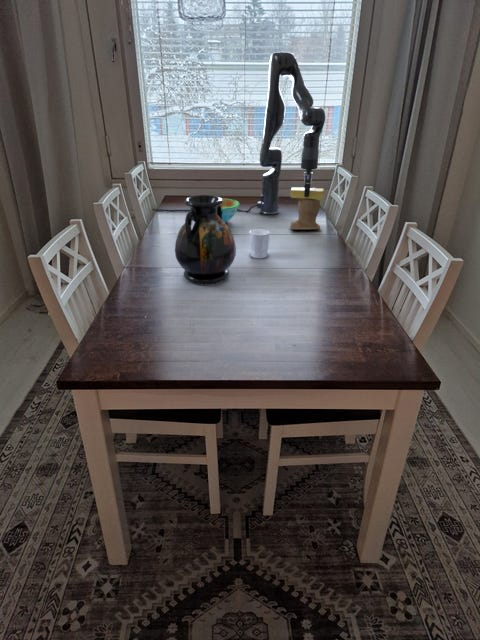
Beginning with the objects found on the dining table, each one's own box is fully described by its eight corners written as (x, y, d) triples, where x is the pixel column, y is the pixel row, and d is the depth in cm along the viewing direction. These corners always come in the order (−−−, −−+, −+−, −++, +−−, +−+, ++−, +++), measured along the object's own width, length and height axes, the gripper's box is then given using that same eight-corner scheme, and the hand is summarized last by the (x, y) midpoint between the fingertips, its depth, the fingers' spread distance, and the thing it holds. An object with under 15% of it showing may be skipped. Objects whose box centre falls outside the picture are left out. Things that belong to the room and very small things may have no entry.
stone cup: (316, 225, 207) (319, 194, 199) (321, 232, 196) (325, 200, 189) (287, 225, 206) (288, 194, 199) (290, 232, 196) (292, 200, 189)
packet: (290, 197, 192) (290, 189, 191) (291, 194, 198) (291, 187, 196) (322, 199, 190) (323, 191, 188) (322, 196, 195) (323, 188, 194)
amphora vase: (213, 294, 137) (211, 210, 123) (164, 280, 147) (157, 201, 133) (247, 273, 153) (248, 196, 139) (200, 261, 163) (197, 189, 149)
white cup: (270, 253, 171) (271, 230, 166) (265, 260, 164) (266, 235, 159) (252, 251, 173) (253, 228, 168) (246, 257, 167) (247, 233, 162)
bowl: (187, 226, 204) (186, 205, 199) (207, 214, 222) (206, 196, 217) (228, 231, 197) (228, 210, 192) (245, 219, 215) (246, 200, 210)
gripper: (302, 154, 192) (299, 191, 200) (300, 159, 180) (298, 198, 188) (318, 155, 191) (315, 192, 199) (318, 160, 178) (314, 199, 187)
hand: (306, 195), depth 193 cm, fingers closed on packet, 6 cm apart
